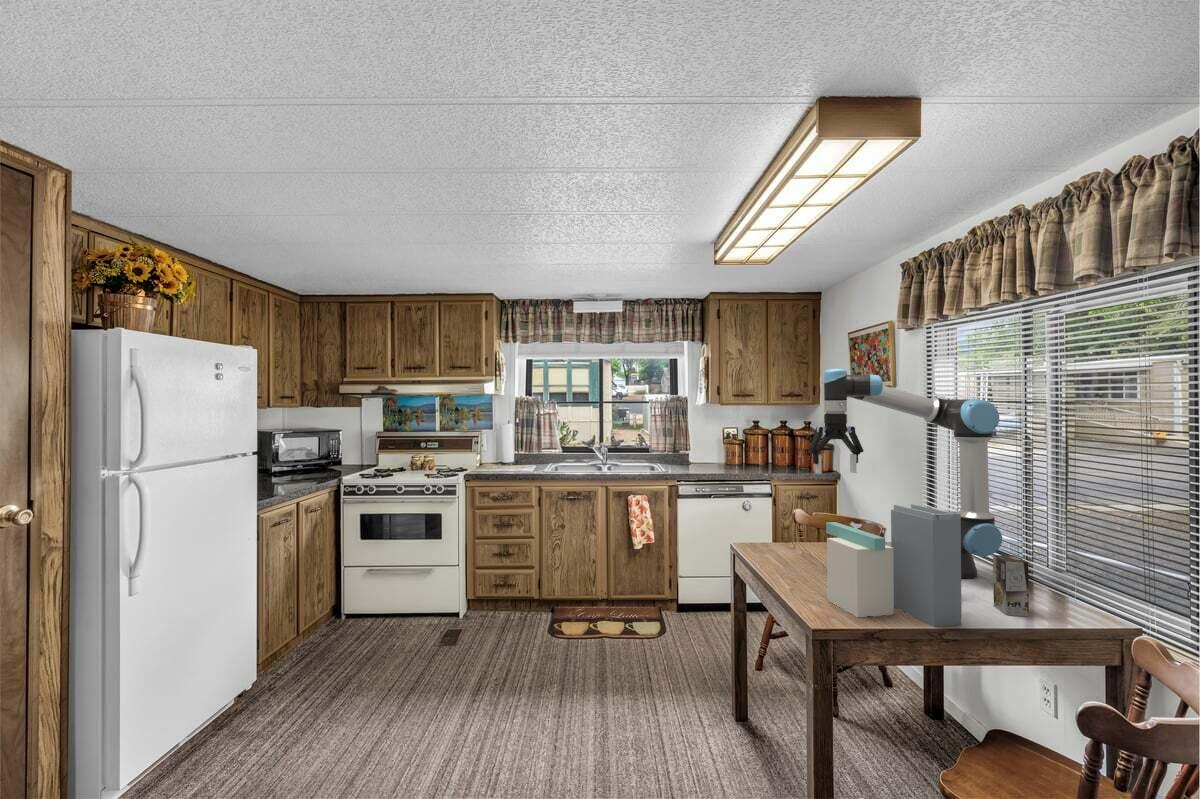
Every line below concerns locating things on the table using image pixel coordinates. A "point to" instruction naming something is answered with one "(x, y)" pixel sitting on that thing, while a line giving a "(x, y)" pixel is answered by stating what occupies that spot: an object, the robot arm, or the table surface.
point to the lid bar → (856, 536)
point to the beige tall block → (860, 578)
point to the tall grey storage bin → (927, 564)
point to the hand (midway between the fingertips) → (835, 473)
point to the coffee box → (1011, 585)
